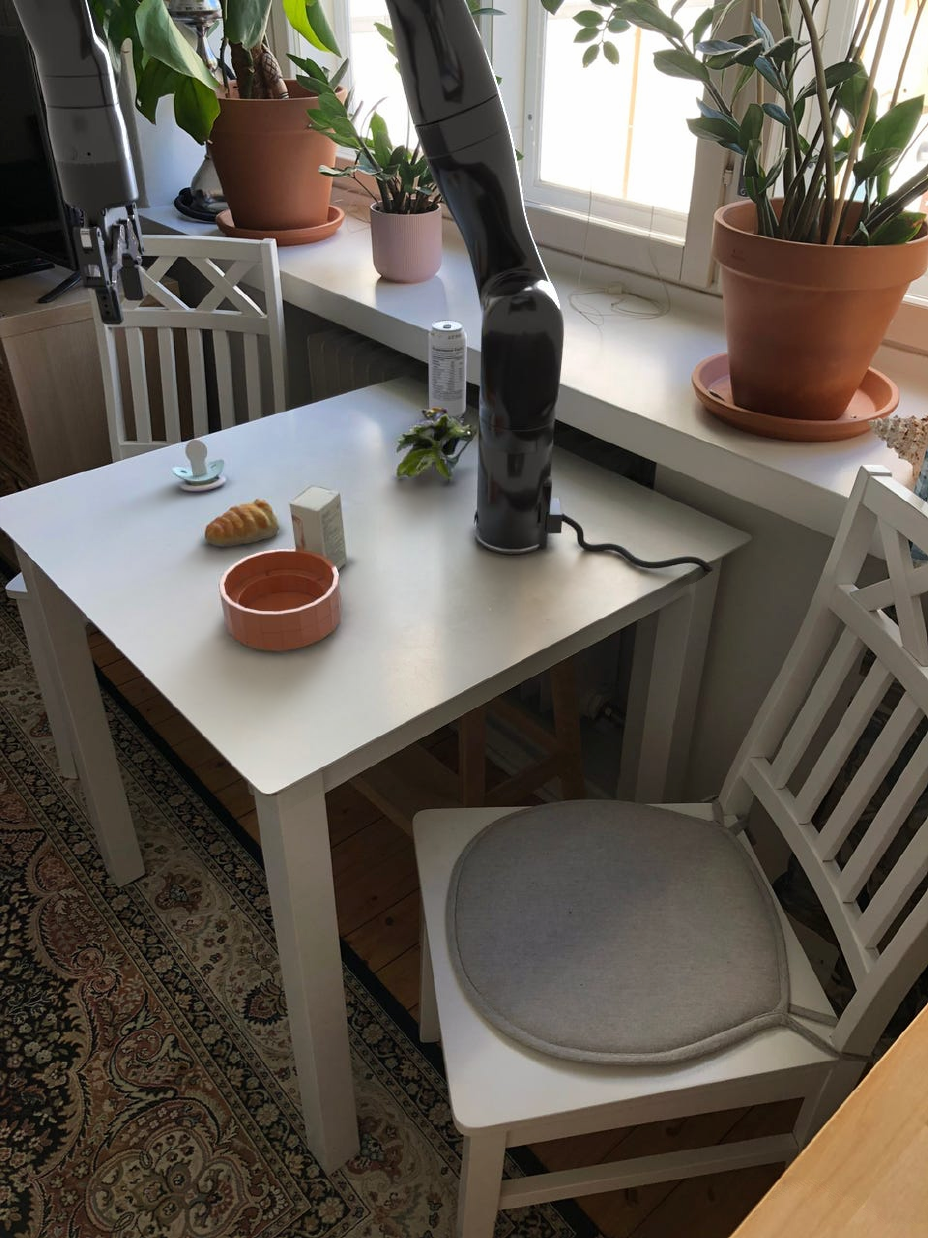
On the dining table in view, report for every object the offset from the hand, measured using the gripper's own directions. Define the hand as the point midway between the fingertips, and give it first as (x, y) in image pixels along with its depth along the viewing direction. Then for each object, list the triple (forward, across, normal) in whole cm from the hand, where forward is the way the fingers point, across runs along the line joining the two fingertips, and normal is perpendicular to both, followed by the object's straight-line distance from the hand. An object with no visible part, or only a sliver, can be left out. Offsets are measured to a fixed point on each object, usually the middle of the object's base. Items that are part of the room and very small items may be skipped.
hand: (125, 311), depth 105 cm
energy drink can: (+30, +39, -36) cm, 61 cm away
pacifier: (+30, +14, -1) cm, 33 cm away
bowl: (+29, -19, -18) cm, 39 cm away
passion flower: (+30, +18, -35) cm, 49 cm away
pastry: (+30, 0, -10) cm, 31 cm away
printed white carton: (+30, -8, -21) cm, 37 cm away
